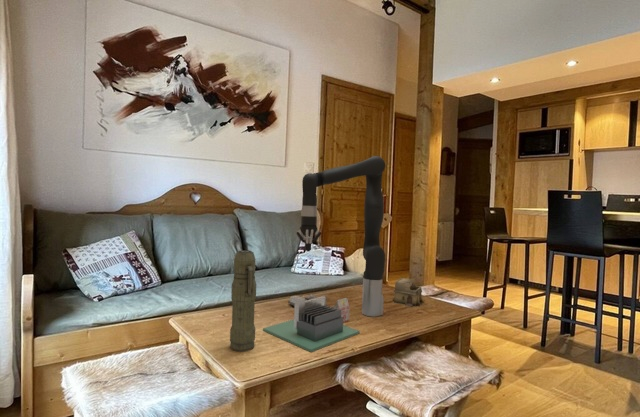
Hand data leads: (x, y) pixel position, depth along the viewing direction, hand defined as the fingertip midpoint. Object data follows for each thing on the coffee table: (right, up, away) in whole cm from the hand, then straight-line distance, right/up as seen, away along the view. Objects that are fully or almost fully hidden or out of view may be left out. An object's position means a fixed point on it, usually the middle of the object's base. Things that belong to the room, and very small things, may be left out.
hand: (307, 251), depth 180 cm
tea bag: (+15, -30, -12) cm, 36 cm away
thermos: (-23, -30, -44) cm, 58 cm away
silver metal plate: (+2, -27, -26) cm, 37 cm away
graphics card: (-2, -29, +12) cm, 32 cm away
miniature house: (+53, -30, +22) cm, 65 cm away
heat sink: (+2, -30, -27) cm, 40 cm away
